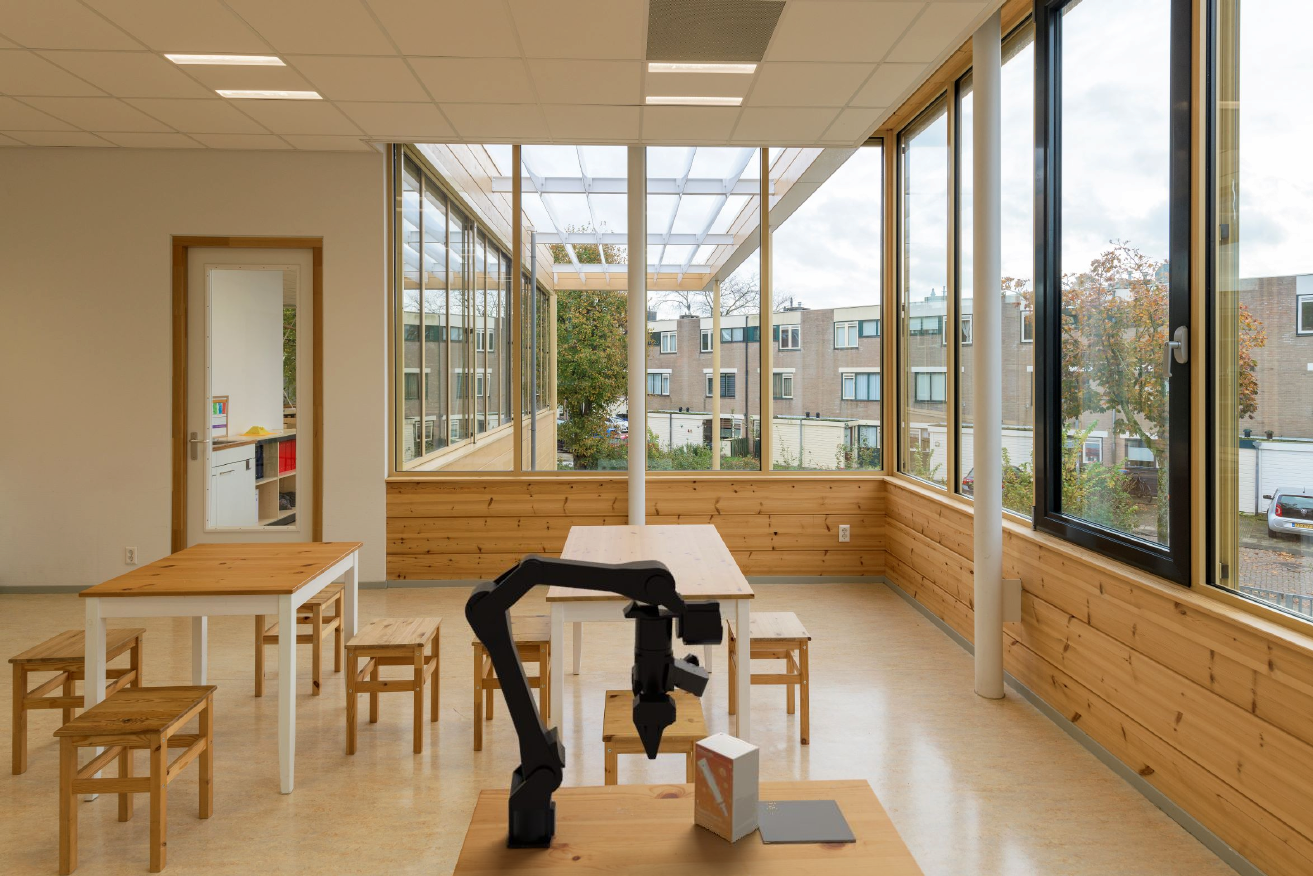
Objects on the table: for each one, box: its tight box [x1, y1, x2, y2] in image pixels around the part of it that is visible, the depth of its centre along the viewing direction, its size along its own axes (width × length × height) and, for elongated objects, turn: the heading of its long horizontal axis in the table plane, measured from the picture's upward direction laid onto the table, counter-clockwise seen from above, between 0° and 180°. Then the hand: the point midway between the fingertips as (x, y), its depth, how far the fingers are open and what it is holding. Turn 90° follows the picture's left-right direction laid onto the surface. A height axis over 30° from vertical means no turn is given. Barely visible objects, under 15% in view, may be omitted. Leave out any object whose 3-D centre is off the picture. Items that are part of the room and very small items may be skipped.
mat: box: [758, 799, 857, 844], centre depth 126 cm, size 14×12×1 cm
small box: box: [693, 731, 760, 844], centre depth 124 cm, size 8×6×13 cm
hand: (651, 745), depth 123 cm, fingers open, 9 cm apart
